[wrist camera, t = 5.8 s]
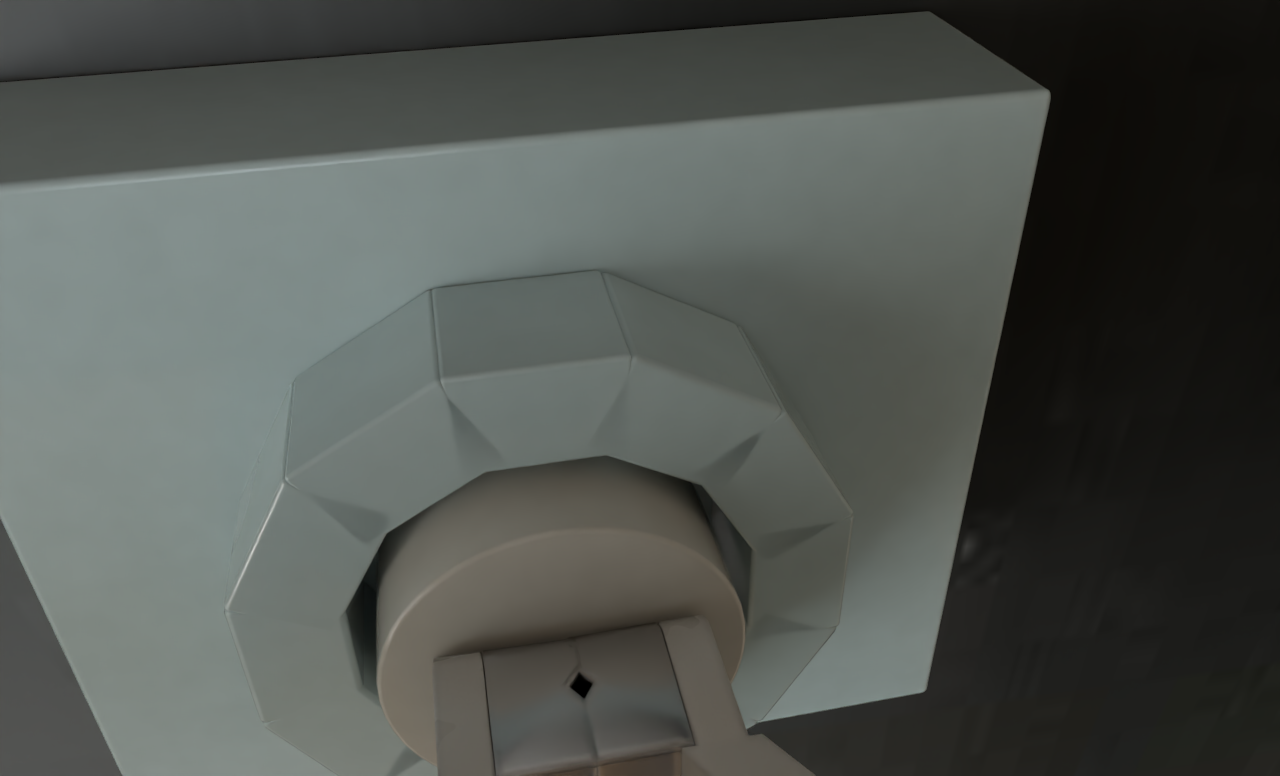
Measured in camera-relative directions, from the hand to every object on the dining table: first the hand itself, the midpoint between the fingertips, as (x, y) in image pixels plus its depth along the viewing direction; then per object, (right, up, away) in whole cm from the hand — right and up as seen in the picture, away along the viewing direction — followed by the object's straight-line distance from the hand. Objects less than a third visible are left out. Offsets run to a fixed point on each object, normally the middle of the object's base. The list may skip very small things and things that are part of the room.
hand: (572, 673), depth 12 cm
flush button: (0, +1, +1) cm, 2 cm away
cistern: (-1, +3, +5) cm, 6 cm away
